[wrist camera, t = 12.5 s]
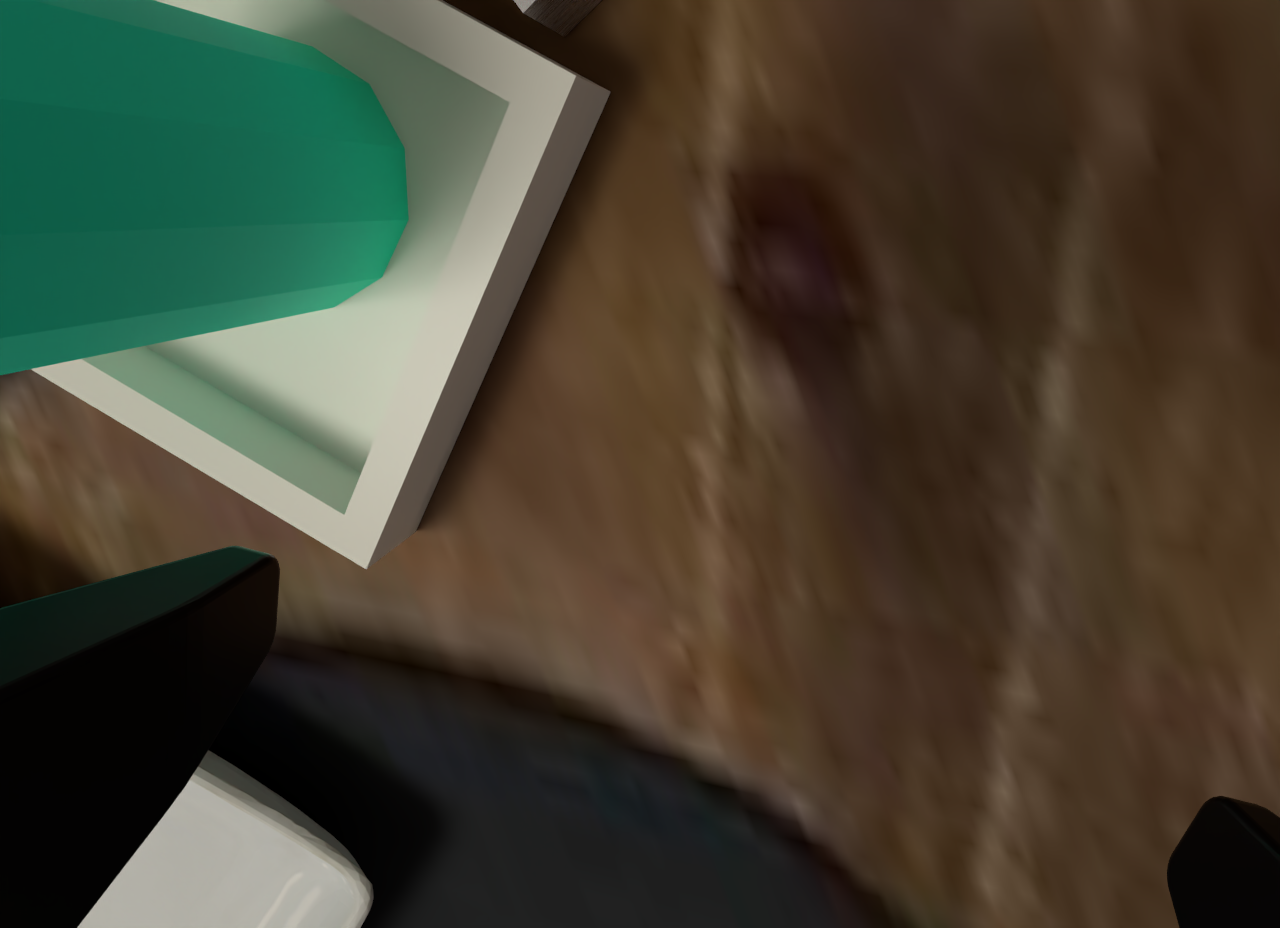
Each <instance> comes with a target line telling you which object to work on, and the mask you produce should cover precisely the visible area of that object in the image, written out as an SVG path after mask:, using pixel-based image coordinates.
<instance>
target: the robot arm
mask: <svg viewBox="0 0 1280 928" xmlns="http://www.w3.org/2000/svg"><path fill="white" fill-rule="evenodd" d="M279 577H280V568H279V563H278V561H277V559H276V558H275V557H274V556H273V555H271V554H268V553H264V552H260V551H256V550H252V549H248V548H244V547H240V546H230V547H226V548H222V549H219V550H215V551H211V552H208V553H204V554H200V555H196V556H193V557H189V558H185V559H182V560H178V561H174V562H170V563H167V564H163V565H159V566H155V567H152V568H148V569H144V570H141V571H137V572H133V573H129V574H126V575H122V576H118V577H114V578H111V579H107V580H103V581H100V582H96V583H92V584H88V585H85V586H81V587H77V588H74V589H70V590H66V591H62V592H59V593H55V594H51V595H47V596H44V597H40V598H36V599H33V600H29V601H25V602H21V603H18V604H14V605H10V606H6V607H3V608H0V928H77V927H78V926H79V925H80V923H81V922H82V921H83V920H84V918H85V917H86V916H87V914H88V913H89V912H90V910H91V909H92V908H93V907H94V905H95V904H96V903H97V901H98V900H99V899H100V898H101V896H102V895H103V894H104V892H105V891H106V890H107V888H108V887H109V886H110V885H111V883H112V882H113V881H114V879H115V878H116V877H117V876H118V874H119V873H120V872H121V870H122V869H123V868H124V866H125V865H126V864H127V863H128V861H129V860H130V859H131V857H132V856H133V855H134V853H135V852H136V851H137V850H138V848H139V847H140V846H141V844H142V843H143V842H144V841H145V839H146V838H147V837H148V835H149V834H150V833H151V831H152V830H153V829H154V828H155V826H156V825H157V824H158V822H159V821H160V820H161V819H162V817H163V816H164V815H165V813H166V812H167V811H168V809H169V808H170V807H171V805H172V804H173V803H174V801H175V800H176V798H177V797H178V796H179V794H180V793H181V792H182V790H183V789H184V788H185V786H186V785H187V783H188V781H189V780H190V778H191V777H192V775H193V774H194V772H195V771H196V769H197V768H198V766H199V765H200V763H201V761H202V760H203V758H204V756H205V755H206V753H207V752H208V750H209V748H210V747H211V745H212V743H213V742H214V740H215V738H216V737H217V735H218V734H219V732H220V730H221V729H222V727H223V725H224V724H225V722H226V721H227V719H228V717H229V716H230V714H231V712H232V711H233V709H234V708H235V706H236V704H237V703H238V701H239V699H240V698H241V696H242V694H243V693H244V691H245V690H246V688H247V686H248V685H249V683H250V681H251V680H252V678H253V677H254V675H255V673H256V672H257V670H258V668H259V667H260V665H261V663H262V662H263V660H264V659H265V657H266V655H267V653H268V652H269V650H270V647H271V645H272V642H273V639H274V636H275V632H276V623H277V608H278V592H279ZM1167 882H1168V887H1169V891H1170V895H1171V898H1172V902H1173V905H1174V909H1175V913H1176V916H1177V920H1178V924H1179V927H1180V928H1280V817H1278V816H1277V815H1275V814H1274V813H1273V812H1271V811H1270V810H1268V809H1266V808H1264V807H1262V806H1259V805H1257V804H1253V803H1249V802H1245V801H1241V800H1237V799H1232V798H1228V797H1224V796H1218V797H1213V798H1211V799H1209V800H1208V801H1206V802H1205V803H1204V804H1203V806H1202V807H1201V808H1200V810H1199V812H1198V813H1197V815H1196V816H1195V818H1194V820H1193V821H1192V823H1191V824H1190V826H1189V828H1188V829H1187V831H1186V832H1185V834H1184V836H1183V837H1182V839H1181V840H1180V842H1179V843H1178V845H1177V847H1176V848H1175V850H1174V851H1173V853H1172V855H1171V857H1170V860H1169V863H1168V869H1167Z"/></svg>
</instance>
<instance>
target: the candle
mask: <svg viewBox="0 0 1280 928" xmlns="http://www.w3.org/2000/svg"><path fill="white" fill-rule="evenodd" d="M408 220H409V216H408V198H407V180H406V162H405V148H404V146H403V144H402V142H401V141H400V139H399V137H398V135H397V133H396V131H395V130H394V128H393V126H392V124H391V122H390V121H389V119H388V117H387V115H386V113H385V111H384V110H383V108H382V106H381V104H380V102H379V100H378V99H377V97H376V95H375V93H374V91H373V89H372V88H371V86H370V84H369V83H367V82H366V81H364V80H363V79H361V78H360V77H358V76H357V75H355V74H354V73H352V72H351V71H349V70H348V69H346V68H345V67H343V66H342V65H340V64H338V63H337V62H335V61H334V60H332V59H331V58H329V57H328V56H326V55H325V54H323V53H322V52H320V51H319V50H317V49H316V48H314V47H313V46H309V45H306V44H302V43H299V42H296V41H292V40H289V39H285V38H282V37H278V36H275V35H271V34H268V33H265V32H261V31H258V30H254V29H251V28H247V27H244V26H241V25H237V24H234V23H230V22H227V21H223V20H220V19H216V18H213V17H210V16H206V15H203V14H199V13H196V12H192V11H189V10H186V9H182V8H179V7H175V6H172V5H168V4H165V3H161V2H158V1H155V0H0V375H4V374H9V373H14V372H19V371H23V370H28V369H33V368H38V367H43V366H48V365H53V364H58V363H63V362H68V361H73V360H78V359H83V358H88V357H93V356H97V355H102V354H107V353H112V352H117V351H122V350H127V349H132V348H137V347H142V346H147V345H152V344H157V343H162V342H166V341H171V340H176V339H181V338H186V337H191V336H196V335H201V334H206V333H211V332H216V331H221V330H226V329H231V328H236V327H240V326H245V325H250V324H255V323H260V322H265V321H270V320H275V319H280V318H285V317H290V316H295V315H300V314H305V313H309V312H314V311H319V310H324V309H329V308H334V307H336V306H337V305H339V304H341V303H342V302H344V301H345V300H347V299H349V298H350V297H352V296H353V295H355V294H356V293H358V292H360V291H361V290H363V289H364V288H366V287H368V286H369V285H371V284H372V283H374V282H376V281H377V280H379V279H380V278H382V277H383V274H384V272H385V270H386V268H387V266H388V264H389V261H390V259H391V257H392V255H393V253H394V251H395V248H396V246H397V244H398V242H399V240H400V238H401V235H402V233H403V231H404V229H405V227H406V224H407V222H408Z"/></svg>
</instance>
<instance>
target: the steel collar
mask: <svg viewBox="0 0 1280 928" xmlns="http://www.w3.org/2000/svg"><path fill="white" fill-rule="evenodd" d="M601 1H602V0H514V2H515V3H516V4H517V6H518V7H519V8H520V10H521V11H522V12H523V13H524V14H525V15H527V16H529V17H531V18H532V19H534V20H536V21H537V22H539V23H541V24H543V25H544V26H546V27H548V28H550V29H551V30H553V31H555V32H556V33H558V34H560V35H562V36H563V37H565V36H566V35H567V34H568V33H569V32H570V31H571V30H572V29H573V28H574V27H575V26H576V25H577V24H578V23H579V22H580V21H581V20H582V19H583V18H584V17H585V16H586V15H587V14H588V13H589V12H590V11H591V10H592V9H593V8H595V7H596V6H597V5H598V4H599V3H600V2H601Z"/></svg>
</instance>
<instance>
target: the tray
mask: <svg viewBox="0 0 1280 928" xmlns="http://www.w3.org/2000/svg"><path fill="white" fill-rule="evenodd" d="M155 1H158V2H161V3H165V4H168V5H172V6H175V7H179V8H182V9H186V10H189V11H192V12H196V13H199V14H203V15H206V16H210V17H213V18H216V19H220V20H223V21H227V22H230V23H234V24H237V25H241V26H244V27H247V28H251V29H254V30H258V31H261V32H265V33H268V34H271V35H275V36H278V37H282V38H285V39H289V40H292V41H296V42H299V43H302V44H306V45H309V46H313V47H314V48H316V49H317V50H319V51H320V52H322V53H323V54H325V55H326V56H328V57H329V58H331V59H332V60H334V61H335V62H337V63H338V64H340V65H342V66H343V67H345V68H346V69H348V70H349V71H351V72H352V73H354V74H355V75H357V76H358V77H360V78H361V79H363V80H364V81H366V82H367V83H369V84H370V86H371V88H372V89H373V91H374V93H375V95H376V97H377V99H378V100H379V102H380V104H381V106H382V108H383V110H384V111H385V113H386V115H387V117H388V119H389V121H390V122H391V124H392V126H393V128H394V130H395V131H396V133H397V135H398V137H399V139H400V141H401V142H402V144H403V146H404V148H405V162H406V180H407V198H408V216H409V220H408V222H407V224H406V227H405V229H404V231H403V233H402V235H401V238H400V240H399V242H398V244H397V246H396V248H395V251H394V253H393V255H392V257H391V259H390V261H389V264H388V266H387V268H386V270H385V272H384V274H383V277H382V278H380V279H379V280H377V281H376V282H374V283H372V284H371V285H369V286H368V287H366V288H364V289H363V290H361V291H360V292H358V293H356V294H355V295H353V296H352V297H350V298H349V299H347V300H345V301H344V302H342V303H341V304H339V305H337V306H336V307H334V308H329V309H324V310H319V311H314V312H309V313H305V314H300V315H295V316H290V317H285V318H280V319H275V320H270V321H265V322H260V323H255V324H250V325H245V326H240V327H236V328H231V329H226V330H221V331H216V332H211V333H206V334H201V335H196V336H191V337H186V338H181V339H176V340H171V341H166V342H162V343H157V344H152V345H147V346H142V347H137V348H132V349H127V350H122V351H117V352H112V353H107V354H102V355H97V356H93V357H88V358H83V359H78V360H73V361H68V362H63V363H58V364H53V365H48V366H43V367H38V368H33V369H31V370H33V371H35V372H36V373H38V374H40V375H41V376H43V377H45V378H46V379H48V380H50V381H51V382H53V383H55V384H56V385H58V386H60V387H61V388H63V389H65V390H66V391H68V392H70V393H71V394H73V395H75V396H77V397H78V398H80V399H82V400H83V401H85V402H87V403H88V404H90V405H92V406H93V407H95V408H97V409H98V410H100V411H102V412H103V413H105V414H107V415H108V416H110V417H112V418H113V419H115V420H117V421H118V422H120V423H122V424H123V425H125V426H127V427H128V428H130V429H132V430H134V431H135V432H137V433H139V434H140V435H142V436H144V437H145V438H147V439H149V440H150V441H152V442H154V443H155V444H157V445H159V446H160V447H162V448H164V449H165V450H167V451H169V452H170V453H172V454H174V455H175V456H177V457H179V458H180V459H182V460H184V461H185V462H187V463H189V464H191V465H192V466H194V467H196V468H197V469H199V470H201V471H202V472H204V473H206V474H207V475H209V476H211V477H212V478H214V479H216V480H217V481H219V482H221V483H222V484H224V485H226V486H227V487H229V488H231V489H232V490H234V491H236V492H237V493H239V494H241V495H242V496H244V497H246V498H248V499H249V500H251V501H253V502H254V503H256V504H258V505H259V506H261V507H263V508H264V509H266V510H268V511H269V512H271V513H273V514H274V515H276V516H278V517H279V518H281V519H283V520H284V521H286V522H288V523H289V524H291V525H293V526H294V527H296V528H298V529H299V530H301V531H303V532H305V533H306V534H308V535H310V536H311V537H313V538H315V539H316V540H318V541H320V542H321V543H323V544H325V545H326V546H328V547H330V548H331V549H333V550H335V551H336V552H338V553H340V554H341V555H343V556H345V557H346V558H348V559H350V560H351V561H353V562H355V563H356V564H358V565H360V566H362V567H363V568H365V569H367V568H369V567H370V566H371V565H373V564H374V563H375V562H377V561H378V560H379V559H381V558H382V557H383V556H385V555H386V554H387V553H388V552H390V551H391V550H392V549H394V548H395V547H396V546H398V545H399V544H400V543H402V542H403V541H404V540H406V539H407V538H408V537H410V536H411V535H412V534H414V533H415V532H416V530H417V528H418V526H419V523H420V521H421V519H422V517H423V514H424V512H425V510H426V508H427V505H428V503H429V501H430V499H431V496H432V494H433V492H434V490H435V487H436V485H437V483H438V481H439V478H440V476H441V474H442V472H443V469H444V467H445V465H446V463H447V460H448V458H449V456H450V454H451V451H452V449H453V447H454V444H455V442H456V440H457V438H458V435H459V433H460V431H461V429H462V426H463V424H464V422H465V420H466V417H467V415H468V413H469V411H470V408H471V406H472V404H473V402H474V399H475V397H476V395H477V393H478V390H479V388H480V386H481V384H482V381H483V379H484V377H485V375H486V372H487V370H488V368H489V366H490V363H491V361H492V359H493V357H494V354H495V352H496V350H497V347H498V345H499V343H500V341H501V338H502V336H503V334H504V332H505V329H506V327H507V325H508V323H509V320H510V318H511V316H512V314H513V311H514V309H515V307H516V305H517V302H518V300H519V298H520V296H521V293H522V291H523V289H524V287H525V284H526V282H527V280H528V278H529V275H530V273H531V271H532V269H533V266H534V264H535V262H536V259H537V257H538V255H539V253H540V250H541V248H542V246H543V244H544V241H545V239H546V237H547V235H548V232H549V230H550V228H551V226H552V223H553V221H554V219H555V217H556V214H557V212H558V210H559V208H560V205H561V203H562V201H563V199H564V196H565V194H566V192H567V190H568V187H569V185H570V183H571V181H572V178H573V176H574V174H575V172H576V169H577V167H578V165H579V162H580V160H581V158H582V156H583V153H584V151H585V149H586V147H587V144H588V142H589V140H590V138H591V135H592V133H593V131H594V129H595V126H596V124H597V122H598V120H599V117H600V115H601V113H602V111H603V108H604V106H605V104H606V102H607V99H608V97H609V95H610V93H611V92H610V91H608V90H607V89H605V88H603V87H601V86H599V85H597V84H596V83H594V82H592V81H590V80H588V79H586V78H585V77H583V76H581V75H579V74H577V73H575V72H574V71H572V70H570V69H568V68H566V67H564V66H562V65H561V64H559V63H557V62H555V61H553V60H551V59H550V58H548V57H546V56H544V55H542V54H540V53H539V52H537V51H535V50H533V49H531V48H529V47H528V46H526V45H524V44H522V43H520V42H518V41H517V40H515V39H513V38H511V37H509V36H507V35H506V34H504V33H502V32H500V31H498V30H496V29H495V28H493V27H491V26H489V25H487V24H485V23H484V22H482V21H480V20H478V19H476V18H474V17H473V16H471V15H469V14H467V13H465V12H463V11H462V10H460V9H458V8H456V7H454V6H452V5H451V4H449V3H447V2H445V1H443V0H155Z"/></svg>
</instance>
